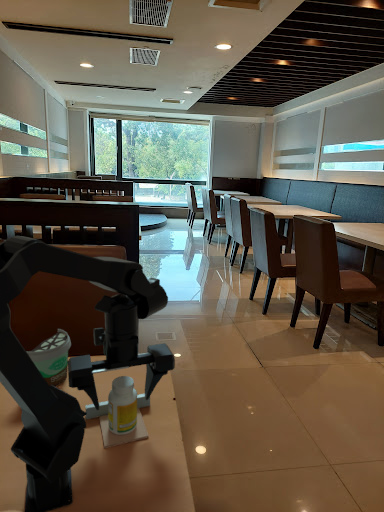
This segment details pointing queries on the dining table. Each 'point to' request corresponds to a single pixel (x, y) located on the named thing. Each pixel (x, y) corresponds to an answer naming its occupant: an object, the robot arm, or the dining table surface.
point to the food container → (52, 358)
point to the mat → (114, 439)
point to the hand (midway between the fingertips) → (122, 403)
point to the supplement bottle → (122, 406)
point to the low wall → (103, 407)
